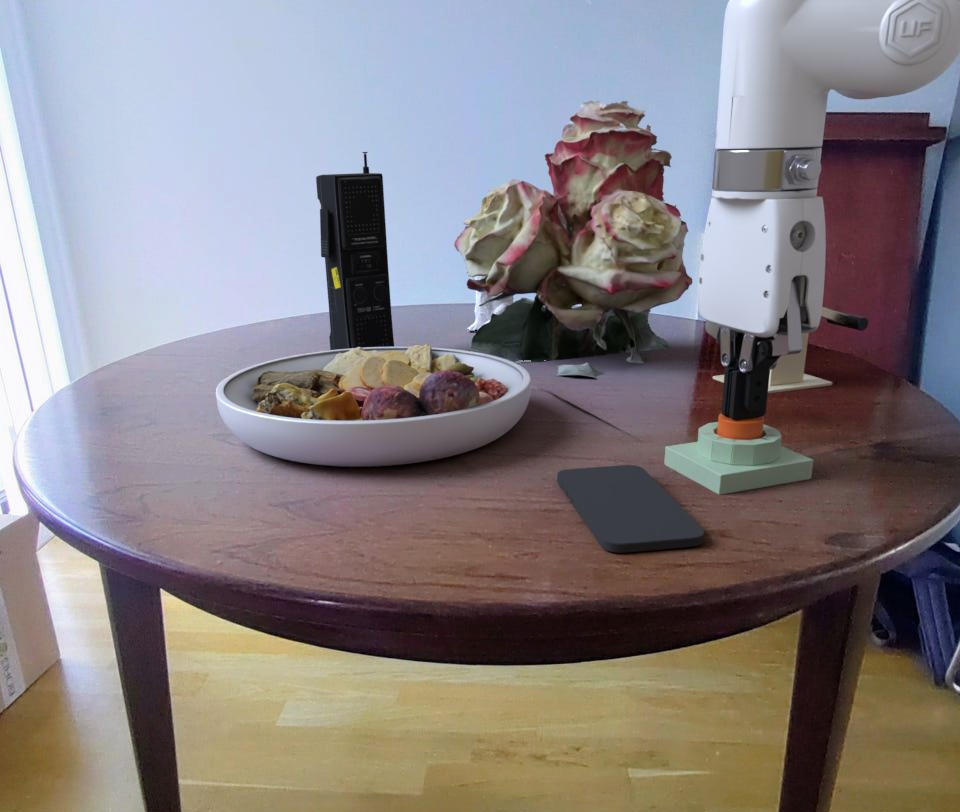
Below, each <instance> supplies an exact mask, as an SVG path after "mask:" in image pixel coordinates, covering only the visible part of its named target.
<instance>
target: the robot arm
mask: <svg viewBox="0 0 960 812" xmlns="http://www.w3.org/2000/svg"><path fill="white" fill-rule="evenodd" d="M721 42H722V44H721V59H720V72H719V85H718V86H719V87H718V100H717V112H716V113H717V115H716V129H715V134H716V137H715V143H714V144H715V145H714V156H713V169H712V170H713V171H712V183H711V189H712V190H711V199H710V203H709V207H708V211H707V216H706V221H705V227H704V233H703V238H702V246H701V253H700V262H699V272H698V283H697V310H698V313H699V315H700V317H701V318H702V319H704V320H705V323H704V330H705V333H707V334H708V335H710V336H711V337H712V338H714V339H715V340H716V341H717V344H718V345H719V347H720V363H721V365H722V366H723V367H724V372H723V373H724V374H723V375H724V383H723V386H722V389H723V390H722V397H721V398H722V399H721V413H722V415H724V416H726V417H730V418H731V419H733V420H743V419H750V418H757V417H762V416H763V417H764V416H765V415H766V413H767V403H768V385H769V375H770V369H774V368H775V367H776V364H777V360H778V359H779V358H780V357H781V355H790V354H798V353H800V352H801V350H802V334H801V333H809V334H810V333H813V332H815V331H816V330H818V328H819V326H820V323H821V319H822V317H821V313H822V307H823V304H824V294H825V277H826V257H827V255H826V254H827V253H826V251H827V250H826V249H827V240H826V239H827V238H826V237H827V236H826V235H827V234H826V233H827V232H826V231H827V230H826V216H825V215H826V214H825V213H826V212H825V205H824V198H823V196H818V195H817V194H818V186H819V179H820V178H819V177H820V175H821V173H822V164H821V159H822V150H823V148H822V147H823V143H824V134H825V125H826V116H827V107H828V99H829V94H830V91H831V90H833V91H834V92H836V93H837V94H839V95H841V96H843V97H846V98H848V99H852V100H872V99H873V100H874V99H878V98H889V97H895V96H901V95H906V94H909V93H912V92H916V91H918V90H920V89H922V88H924V87H926V86H927V85H929V84H930V83H933V82H934V81H935V80H937V79H938V78H939V77H941V76H942V75H943V74H944V73H945V72H946V71H947V70H948V69H949V68H950V67H951V66H952V64H953V63H954V62H955V61H956V59H957V58H958V56H959V54H960V0H728V2H727V4H726V7H725V11H724V19H723V30H722V41H721ZM758 342H760V343H759V344H758ZM721 413H720V414H721Z"/></svg>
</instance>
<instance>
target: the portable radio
mask: <svg viewBox="0 0 960 812" xmlns="http://www.w3.org/2000/svg"><path fill="white" fill-rule="evenodd" d="M361 153H362V154H363V162H364V163H363V164H364V165H363V166H362V172H360V173H357V172H356V173H332V174H331V173H330V174H319V175H317V176H315V182H316V195H317V197H316V198H317V200H318V201H319V204H320V209H319V226H320V227H319V228H320V257H321V258H324V264H325V275H326V290H327V301H328V314H329V316H328V317H329V328H330V329H329V330H330V333H329V337H328V339H329V350H338V349H350V348H357V347H362V348H365V347H395V340H394V339H395V338H394V328H393V327H394V326H393V315H392V303H391V302H392V301H391V289H390V288H391V287H390V274H389V258H388V243H387V241H388V240H387V227H386V226H387V225H386V210H385V194H384V177H383V176H384V175H383V173H381V172H380V173H379V172H374V173H373V172H370V167H369V166H368V157H367V154H368V153H369V151H362V152H361Z"/></svg>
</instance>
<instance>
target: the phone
mask: <svg viewBox="0 0 960 812" xmlns="http://www.w3.org/2000/svg"><path fill="white" fill-rule="evenodd" d="M556 482H557V484H558V486H559V487H560V489H561V490H562V492H563V493H564V495H565V496H566V497H567V499H568V500H569V502H570V503H571V505H572V506H573V508H574V509H575V510H576V512H577V514H578V515H579V516H580V518H581V519H582V520H583V522H584V524H585V525H586V526H587V528H588V530H589V531H590V532H591V534H592V535H593V536H594V539H596V541H597V542H598V544H599V545H600V547H601V548H602V549H604V550H605V551H607V552H611V553H615V554H619V553H620V554H623V553H638V552H639V553H640V552H649V551H661V550H670V549H671V550H673V549H683V548H693V547H698V546H700V545H701V546H702V545H703V544H704V543H705V534H706V532H705V530H704V528H702V527H701V526H700V524H698V522H696V520H694V518H692V516H690V514H689V513H688V512H687V511H685V509H684V508H683V507H682V506H681V505H680V504H679V503H678V502H677V500H675V499H674V498H673V497H672V496H671V495H670V494H669V493H668V492H667V491H666V490H665V489H664V488H663V487H662V486H661V485H660V484H659V483H658V482H657V481H656V479H654V478H653V477H652V475H651V474H649V472H648V471H647V470H646V469H644V467H642V466H639V465H633V464H621V465H607V466H594V467H593V466H592V467H582V468H581V467H580V468H579V467H578V468H567V469H563V470H559V471H558V472H557V473H556Z"/></svg>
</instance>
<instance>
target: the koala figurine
mask: <svg viewBox="0 0 960 812" xmlns="http://www.w3.org/2000/svg"><path fill="white" fill-rule="evenodd" d="M459 254H460V255H461V253H460V252H459ZM485 277H486V276H475V277H471V278H472V280H481V279H483V278H485ZM487 293H488V292H486V291H483V292H478V291H477V290H475V305H474V311H473V312H474V315H475V320H474V322H473V323H472V324H471V325H470V326H468V327H467V329H469V330H476V329H479V328H480V327H481V326H482V325H484V324H486V323H489V322H490V320H491V315H492V314H493V313H494V314H496V315H500V314H501V313H502V312H503V311H504V310H505V309H506V306H508V305H511V304H512V303H514V296H511V297H509V298H506V299H503V300H499V301H497V300H495V301H492V302H488V303H486V304H484V305H483V306H479V305H480V304H483V303H485V302H486V301H488V300H490V299H493V298H495V297H497V296H499V295H501V294H502V293H500V294H499V295H497V296H492V297H490V296H487Z"/></svg>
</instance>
